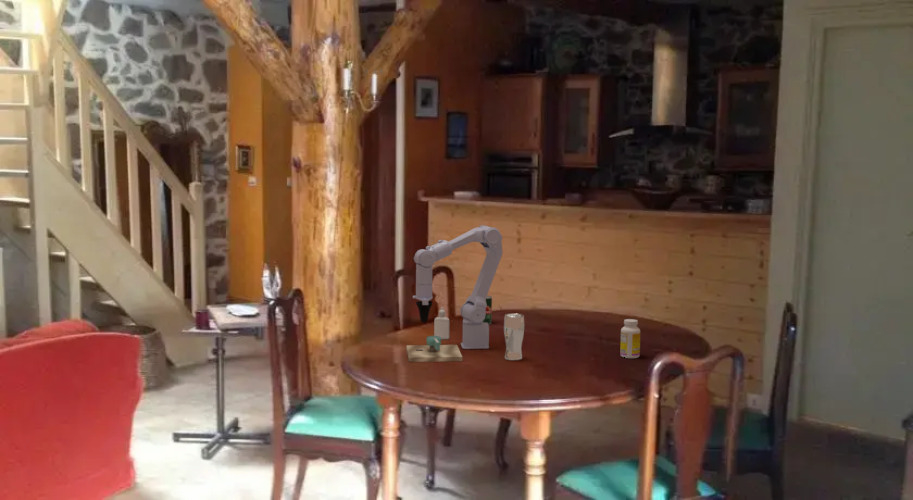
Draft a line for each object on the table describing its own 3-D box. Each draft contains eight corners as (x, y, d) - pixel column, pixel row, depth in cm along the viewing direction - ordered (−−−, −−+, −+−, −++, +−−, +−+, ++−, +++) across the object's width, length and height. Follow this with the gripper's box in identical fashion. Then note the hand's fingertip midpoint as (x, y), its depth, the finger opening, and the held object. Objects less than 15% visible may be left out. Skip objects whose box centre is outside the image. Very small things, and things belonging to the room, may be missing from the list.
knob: (425, 343, 304) (425, 335, 304) (439, 342, 305) (439, 335, 305) (430, 350, 294) (430, 342, 293) (445, 349, 295) (445, 342, 294)
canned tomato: (473, 320, 363) (473, 294, 362) (492, 321, 362) (492, 295, 361) (471, 324, 355) (471, 298, 354) (490, 325, 354) (490, 298, 353)
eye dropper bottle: (444, 340, 326) (444, 308, 324) (432, 338, 329) (432, 307, 328) (451, 338, 329) (451, 307, 328) (439, 336, 332) (439, 305, 331)
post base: (456, 348, 313) (456, 339, 312) (462, 361, 295) (462, 351, 294) (406, 349, 311) (406, 339, 310) (408, 361, 293) (409, 351, 293)
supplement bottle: (640, 355, 306) (642, 319, 304) (638, 359, 300) (639, 322, 298) (621, 353, 308) (622, 317, 307) (618, 357, 302) (619, 321, 300)
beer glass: (509, 361, 295) (510, 317, 293) (499, 357, 301) (500, 314, 299) (527, 359, 298) (528, 316, 296) (516, 355, 304) (517, 312, 303)
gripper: (411, 280, 313) (411, 317, 315) (413, 287, 299) (413, 326, 301) (431, 280, 314) (431, 317, 316) (434, 286, 300) (434, 325, 301)
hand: (423, 321), depth 308 cm, fingers closed
